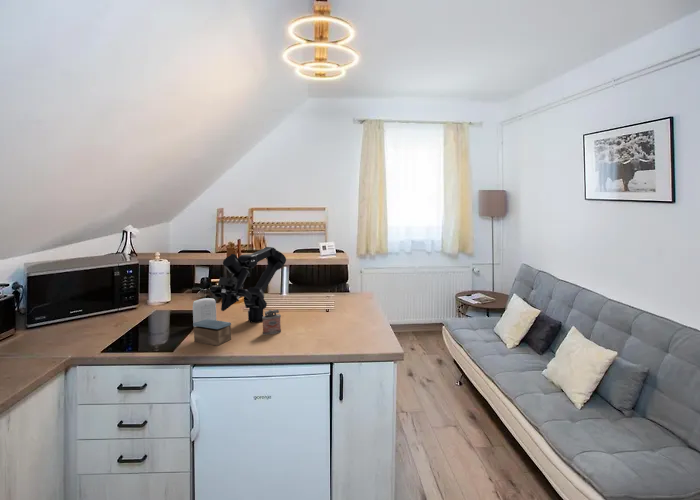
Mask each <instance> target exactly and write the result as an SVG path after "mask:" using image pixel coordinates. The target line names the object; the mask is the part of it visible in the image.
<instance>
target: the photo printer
mask: <svg viewBox="0 0 700 500" xmlns="http://www.w3.org/2000/svg"><path fill="white" fill-rule="evenodd" d="M192 316H193V317H192V321H193V323H195V322H199V321H202V320H206V319H210V320H217V302H216V299H214V298H212V297H211V298H209V297H207V298H206V297H204V298H200V299H197V300H194V301H193V303H192ZM193 323H192V324H193ZM194 327H196V326H193V328H194Z"/></svg>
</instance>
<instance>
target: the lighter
mask: <svg viewBox="0 0 700 500" xmlns="http://www.w3.org/2000/svg"><path fill="white" fill-rule="evenodd" d="M281 316H282V315H281V314H280V310H279V309H273V310H272V309H269V310H268V311H267V310H265V312H264V315H263V317H262V319H263V322H262V335H263V336H264V335H265V336H266V335H275V334H279V333H282V328H281V326H282V325H281Z"/></svg>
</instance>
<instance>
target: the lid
mask: <svg viewBox="0 0 700 500" xmlns="http://www.w3.org/2000/svg"><path fill="white" fill-rule="evenodd" d="M192 325H193V327H194V326H199V327H206V328H212V329H220V328H223V327H226V326H229V325H232V322H229V321H222V320H217V319H216V320H210V319H206V320H202V321H199V322H195V323H192Z"/></svg>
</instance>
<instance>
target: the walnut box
mask: <svg viewBox="0 0 700 500" xmlns="http://www.w3.org/2000/svg"><path fill="white" fill-rule="evenodd" d="M231 325H232V324H231ZM231 325H229V326H226V327H223V328H220V329H212V328H206V327H199V326H196V327H194V326H193V339H194V342H195V343H198V344H205V345H211V346H216V347H218V346H221V345H223V344H226V343H228V342H229V341H231V340H232V332H231V331H232V328H231Z"/></svg>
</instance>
